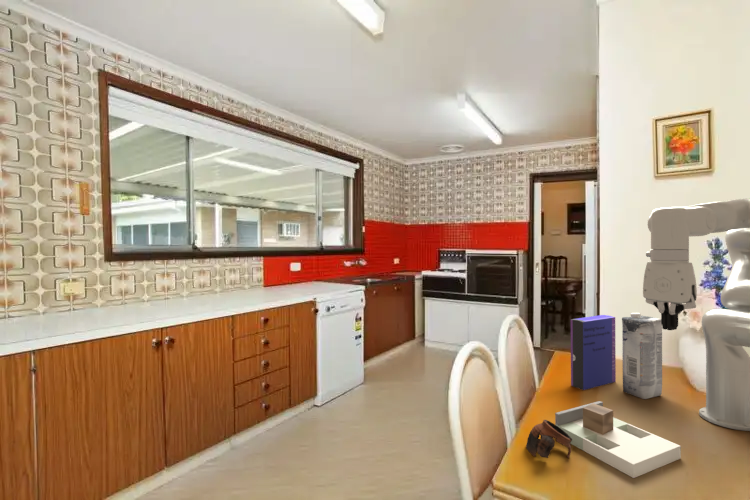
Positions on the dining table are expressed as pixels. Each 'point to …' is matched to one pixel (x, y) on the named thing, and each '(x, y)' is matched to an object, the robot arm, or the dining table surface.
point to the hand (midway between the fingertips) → (669, 329)
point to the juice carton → (642, 356)
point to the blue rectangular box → (593, 351)
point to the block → (598, 418)
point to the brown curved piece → (546, 439)
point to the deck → (619, 443)
